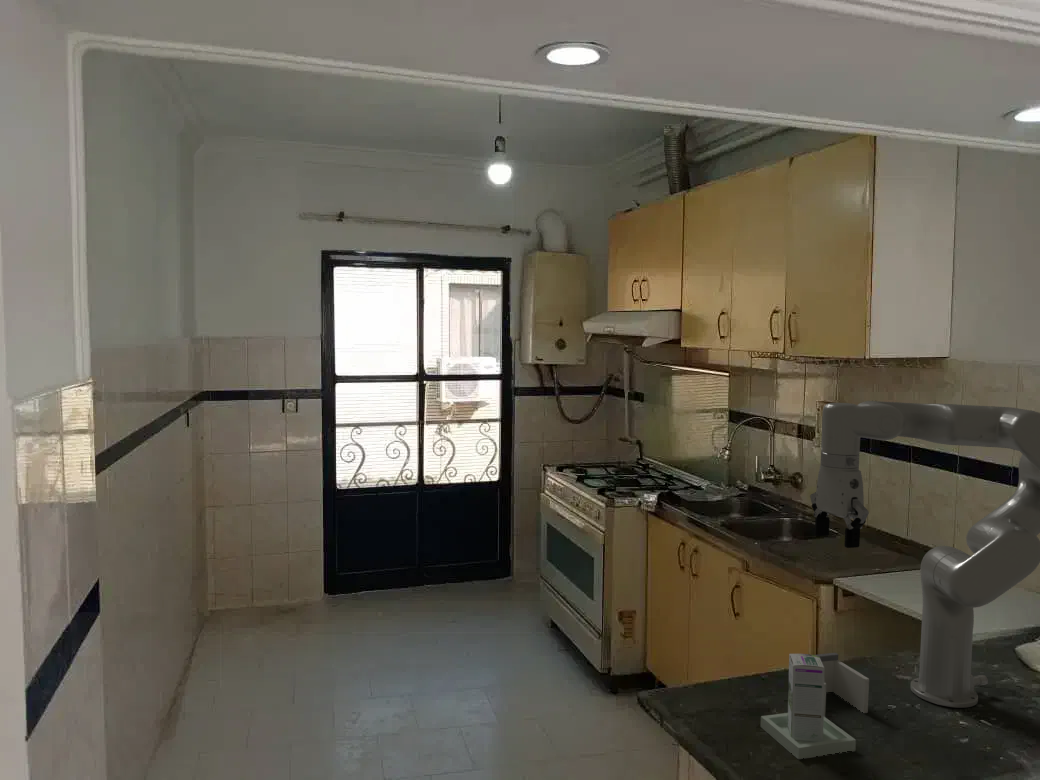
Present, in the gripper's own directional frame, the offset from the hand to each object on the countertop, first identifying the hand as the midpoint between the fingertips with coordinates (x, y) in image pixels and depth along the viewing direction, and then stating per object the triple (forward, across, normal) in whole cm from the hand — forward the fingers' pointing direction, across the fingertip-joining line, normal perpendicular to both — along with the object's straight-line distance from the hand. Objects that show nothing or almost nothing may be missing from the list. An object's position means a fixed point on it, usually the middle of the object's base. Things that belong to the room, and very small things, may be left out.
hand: (836, 541), depth 164 cm
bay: (+32, -6, +5) cm, 33 cm away
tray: (+32, -17, +18) cm, 41 cm away
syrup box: (+32, -17, +18) cm, 40 cm away
